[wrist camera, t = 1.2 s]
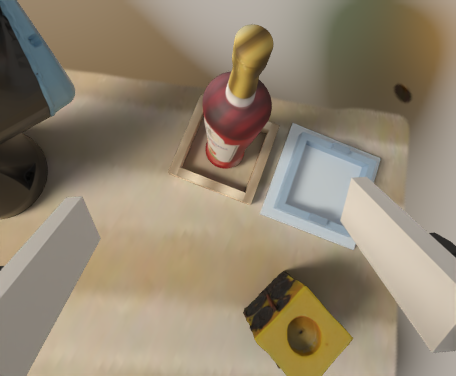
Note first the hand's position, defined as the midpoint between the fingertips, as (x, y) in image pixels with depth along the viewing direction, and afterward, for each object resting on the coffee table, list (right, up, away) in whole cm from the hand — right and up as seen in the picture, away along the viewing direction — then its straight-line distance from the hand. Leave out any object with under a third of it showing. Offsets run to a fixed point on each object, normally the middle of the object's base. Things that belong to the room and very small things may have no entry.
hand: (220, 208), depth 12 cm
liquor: (0, +8, +32) cm, 33 cm away
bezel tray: (+18, +1, +33) cm, 37 cm away
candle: (+10, -20, +30) cm, 37 cm away
